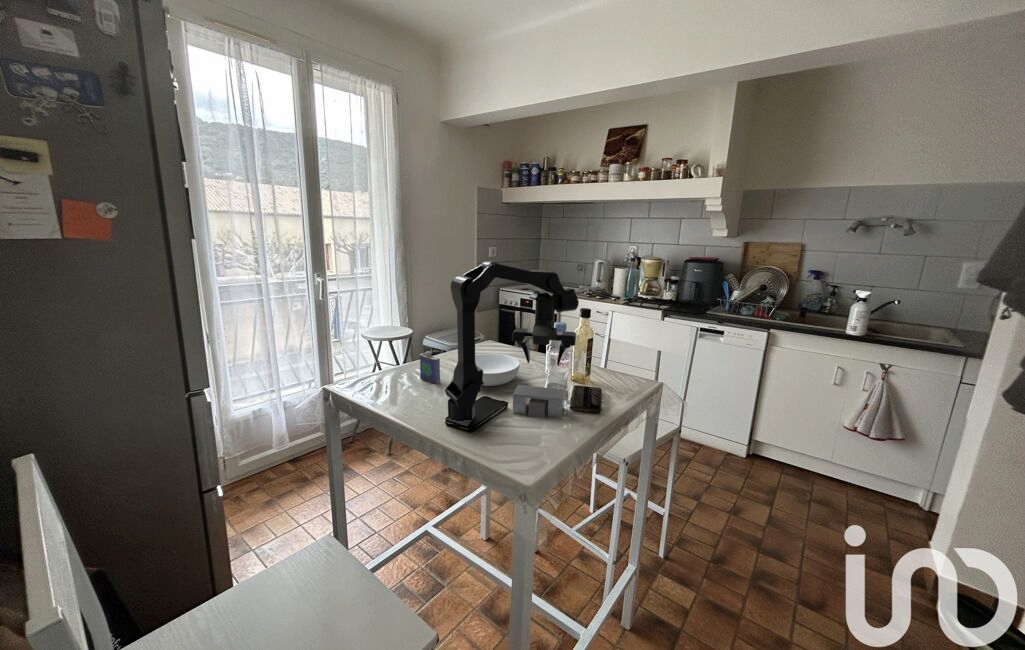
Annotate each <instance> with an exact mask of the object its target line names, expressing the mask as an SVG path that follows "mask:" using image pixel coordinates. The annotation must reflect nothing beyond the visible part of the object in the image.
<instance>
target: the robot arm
mask: <svg viewBox="0 0 1025 650" xmlns="http://www.w3.org/2000/svg"><path fill="white" fill-rule="evenodd" d="M496 278H498V279H502V280H508V281H513V282H517V283H522V284H526V285H528V286H530V287H532V288H534V289H536V290H534V291H533V292H532V293H531V294H529V297H528V298H529V299H530V300H533V301H535V307H534V308H535V309H534V310H535V313H534V325H533V327H532V332H530V331H528V330H529V329H528V328H523V327H522V328H520V327H516V328H515V329H514V330H513V332H512V334H511V341H512V342H516V345H519V346H520V347H521V348H522V351H523V353H524V356H525V358H526V362H527V364H530V363H531V362H530V360H531V354H530V353H531V350H530V348H531V347H530V340H532V344H533V345H543V346H548V345H550V341H556V342H557V341H559V342H560V344H559V349H558V350H559V351H558V355H557V360H556V361H557V362H556V363H557V364H556V366H559V365H560V362H561V360H562V358H563V354H564V353H565V351H566V350H567V349H570V348H571V346H572V347H574V346H576V343H577V333H576V332H575V331H565V330H563V332H562V333H561V334H560V333H558V328H557V327H555V315H556V313H555V312H557V313H563V312H571V311H576V310H577V309H578V307H579V303H580V302H579V298H578V295H577V294H576V292H575V291H576V290H575V288H571V287H570V288H569V287H568V288H564V286H563V284H562V282H560V277H559V274H558V273H556V272H554V271H549V270H543V269H529V270H528V269H527V270H526V269H524V268H523V269H522V268H519V267H512V266H509V265H504V264H500V263H498V262H495V261H489V260H486V261H484V262H482V263H481V264H479V265H478V266H476V267H474V268H472V269H470V270H469V271H467V272H466V273H464V274H462V275H458V276H456V277H454V278H453V280H451V283H450V291H451V292H450V293H451V297H452V301H453V304H454V306H455V310H456V312H457V313H456V319H457V320H456V321H457V322H456V323H457V324H456V325H457V329H456V330H457V363H456V365H455V368H454V370H453V376H452V380H451V382H450V383H449V384H448V385H447V386H446V387H445V389H444V392H445V395H446V396H447V397H448V400H447V419H448V418H451V419H452V420H456V421H464V420H472V419H473V418H474V416H475V417H476V405H475V404H476V400H477V398H478V395H479V392H481V391H482V387H483V384H484V383H483V379H482V378H483V370H482V369H480V368H479V367H478V366H476V363H475V355H476V311H477V308H478V306H479V304H480V299H481V293H482V292H483V291H484V290H486V289H487V288H488V287H489V285H490V284H491V283H492V282H493V280H495V279H496ZM537 290H539V291H537ZM540 291H544V292H540ZM550 293H551V294H550ZM481 384H482V385H481ZM474 419H475V418H474ZM445 425H449V424H448V423H447V422H446V421H445Z"/></svg>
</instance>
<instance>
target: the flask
mask: <svg viewBox="0 0 1025 650" xmlns="http://www.w3.org/2000/svg"><path fill="white" fill-rule="evenodd" d="M432 352H433V351H431V350H430V351H429V350H428V351H425V352H423V353H420V354H419V365H420V366H419V372H420V378H419V379H420V380H422V381H424V382H427V383H430V384H433V385H439V384H441V364H440V359H441V358H440V357H438V356H437V357H436V356H433V355H432Z"/></svg>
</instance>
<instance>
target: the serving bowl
mask: <svg viewBox="0 0 1025 650" xmlns="http://www.w3.org/2000/svg"><path fill="white" fill-rule="evenodd" d="M475 363H476V366H478V367H479V368H480V369H482V370H483V378H482V379H483V383H484V384H483V385H482V384H481V385H482V387H491V386H493V387H494V386H500V385H504V384H507V383H509V382H511V381H512V380H513V379H514V378H515V377H516V376H517V375H518V373H519V371H520V370H519V369H520V367H521V366H520V365H521V363H520V360H519V359H517V358H516V357H514V356H511V355H508V354H502V353H501V354H500V353H479V354H475Z"/></svg>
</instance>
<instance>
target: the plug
mask: <svg viewBox="0 0 1025 650" xmlns="http://www.w3.org/2000/svg"><path fill="white" fill-rule="evenodd" d="M546 410H547V400H544V399H534V398H530V401H529V407H528V417H529V418H541V419H545V417H546V416H545V415H546V412H547V411H546Z"/></svg>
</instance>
